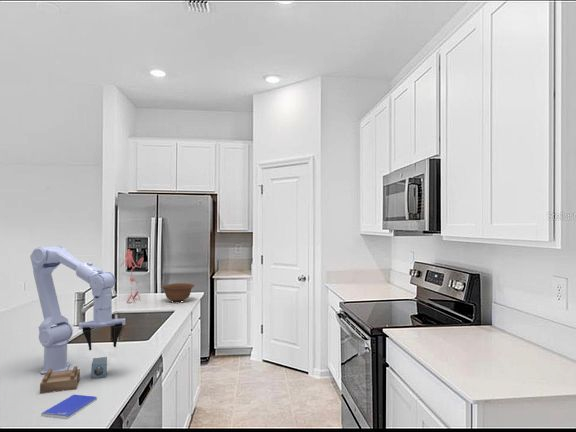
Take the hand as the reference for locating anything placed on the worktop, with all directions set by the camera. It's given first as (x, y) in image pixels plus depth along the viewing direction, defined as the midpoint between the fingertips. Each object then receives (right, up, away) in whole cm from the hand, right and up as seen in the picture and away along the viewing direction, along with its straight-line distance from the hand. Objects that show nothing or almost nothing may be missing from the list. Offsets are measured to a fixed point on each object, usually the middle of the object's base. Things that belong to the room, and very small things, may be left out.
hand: (102, 347), depth 143 cm
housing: (-2, -10, +1) cm, 10 cm away
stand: (-10, -9, -8) cm, 16 cm away
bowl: (-10, -12, +134) cm, 135 cm away
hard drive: (+2, -10, -24) cm, 27 cm away
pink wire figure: (-43, -12, +133) cm, 140 cm away
